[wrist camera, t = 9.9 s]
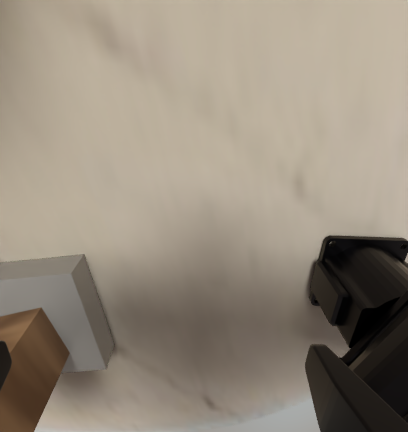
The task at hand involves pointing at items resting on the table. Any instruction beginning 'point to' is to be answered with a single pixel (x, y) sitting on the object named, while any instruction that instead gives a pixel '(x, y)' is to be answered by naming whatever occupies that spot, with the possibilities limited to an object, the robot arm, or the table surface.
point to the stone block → (61, 305)
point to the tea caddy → (29, 368)
